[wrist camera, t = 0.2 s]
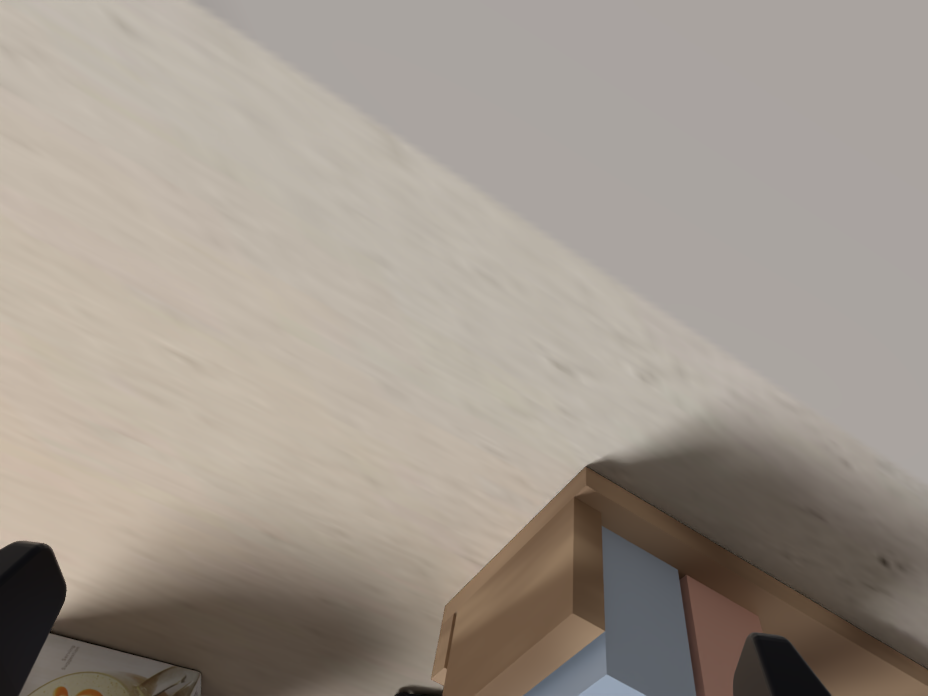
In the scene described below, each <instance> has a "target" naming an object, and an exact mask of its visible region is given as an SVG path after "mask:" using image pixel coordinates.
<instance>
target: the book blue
mask: <svg viewBox="0 0 928 696" xmlns="http://www.w3.org/2000/svg"><path fill="white" fill-rule="evenodd" d="M602 549H603V580H604V610H605V632H603V633H602V634H601V635H600V636H598V637H597V638H596V639H594V640H593V641H592V642H591V643H589V644H588V645H587V646H586V647H584V648H583V649H582V650H580V651H579V652H578V653H577V654H575V655H574V656H573V657H572V658H570V659H569V660H568V661H566V662H565V663H564V664H563V665H561V666H560V667H559V668H558V669H556V670H555V671H554V672H552V673H551V674H550V675H549V676H547V677H546V678H545V679H544V680H542V681H541V682H540V683H538V684H537V685H536V686H535V687H533V688H532V689H531V690H530V691H528V692H527V693H526V694H524V695H523V696H696V691H695V684H694V677H693V670H692V663H691V656H690V650H689V643H688V636H687V629H686V622H685V615H684V608H683V602H682V595H681V588H680V581H679V574H678V570H677V569H676V568H674V567H672V566H671V565H669V564H667V563H665V562H664V561H662V560H660V559H658V558H657V557H655V556H653V555H652V554H650V553H648V552H646V551H645V550H643V549H641V548H639V547H638V546H636V545H634V544H633V543H631V542H629V541H627V540H626V539H624V538H622V537H620V536H619V535H617V534H615V533H614V532H612V531H610V530H608V529H607V528H605V527H603V526H602Z"/></svg>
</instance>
